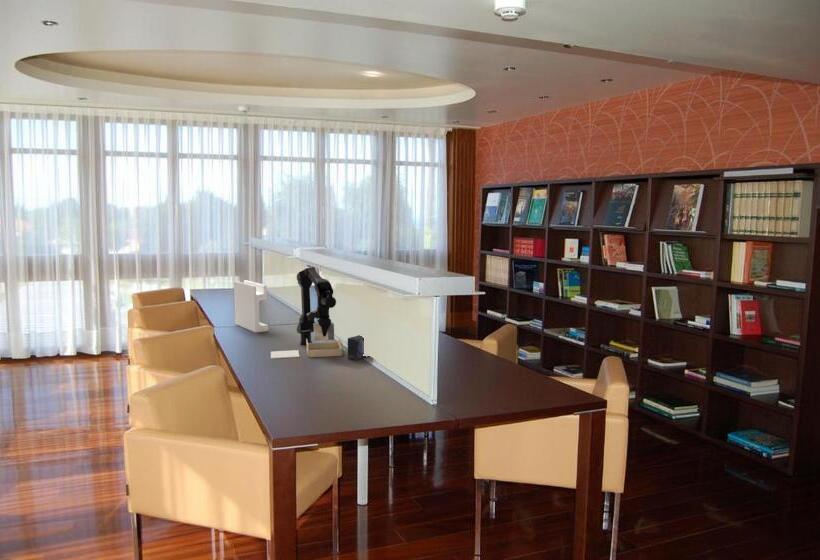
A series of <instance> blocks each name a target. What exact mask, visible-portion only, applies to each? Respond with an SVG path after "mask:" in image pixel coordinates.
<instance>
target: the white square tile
mask: <svg viewBox="0 0 820 560" xmlns="http://www.w3.org/2000/svg"><path fill="white" fill-rule="evenodd" d="M292 358H300V352H299V349H297V350H296V349H294V350H293V349H292V350H277V351H270V359H271V360H274V359H276V360H277V359H292Z"/></svg>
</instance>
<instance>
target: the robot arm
mask: <svg viewBox="0 0 820 560" xmlns="http://www.w3.org/2000/svg"><path fill="white" fill-rule="evenodd" d="M296 280H297V284H298V285H299V287H300V294H301V295H300V297H301V315H300V317H299V320H298V324H297V326H296V333H297V334H300V341H299V345H306V339H307V341H308V343H313V342H312V333H314V323H318V324H319V325H320V326H321V328H322V333H323V336H326V334H327V331H328V329H329V326H330V324H331V323H332V320H331V318H330V309H333V308H335V306H336V304H337V300H336V298H335V297H334V296H333V295H334V289H333V287H332V284H331V282H330V280H328V279H326V278H322V277H321V275H320V274H319V273H318V272H317V270H316V269H315V267H306V268H304V269H303V270H301V271H299V272H298V273H297V274H296ZM313 284H314V288H313V289H314V290H315V292H316V296H317V297H316V298H317V307H316V309H314V310H312V309H311V305H312V304H311V286H312V285H313ZM315 319H316V322H315Z"/></svg>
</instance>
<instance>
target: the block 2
mask: <svg viewBox="0 0 820 560" xmlns="http://www.w3.org/2000/svg"><path fill="white" fill-rule="evenodd" d="M313 340H314V342H315V341H316V342H317V341H334V340H335V324H334V322H331V324H330V326H329V329H328V331H327V334H326V336H323V333H322V328H321V326H320V325H319V324H318V322H315V323H314V332H313Z"/></svg>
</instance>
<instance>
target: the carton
mask: <svg viewBox="0 0 820 560" xmlns="http://www.w3.org/2000/svg"><path fill="white" fill-rule="evenodd" d="M305 345H306V353H307V357H308V358H319V357H320V358H322V357H342V356H343V355H344V346H343V341H342V340H341V338H340V337H338V341H329V342H328V341H327V342H312V343H308V341H307V339H306V344H305Z"/></svg>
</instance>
